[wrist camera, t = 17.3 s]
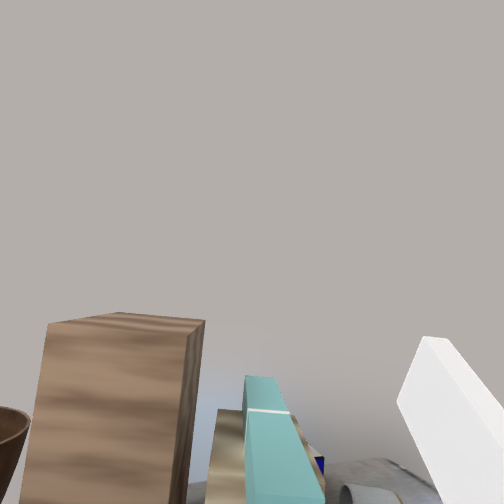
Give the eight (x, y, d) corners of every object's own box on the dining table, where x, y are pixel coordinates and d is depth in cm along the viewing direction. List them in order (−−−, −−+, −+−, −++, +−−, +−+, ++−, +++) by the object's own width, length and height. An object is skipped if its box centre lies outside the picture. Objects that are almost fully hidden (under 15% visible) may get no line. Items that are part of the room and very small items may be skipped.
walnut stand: (151, 750, 26) (197, 338, 29) (-42, 741, 25) (29, 323, 29) (188, 550, 45) (213, 320, 49) (81, 543, 45) (113, 311, 49)
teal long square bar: (321, 577, 19) (326, 497, 20) (247, 571, 19) (254, 492, 20) (271, 408, 47) (274, 377, 47) (241, 406, 47) (244, 374, 47)
